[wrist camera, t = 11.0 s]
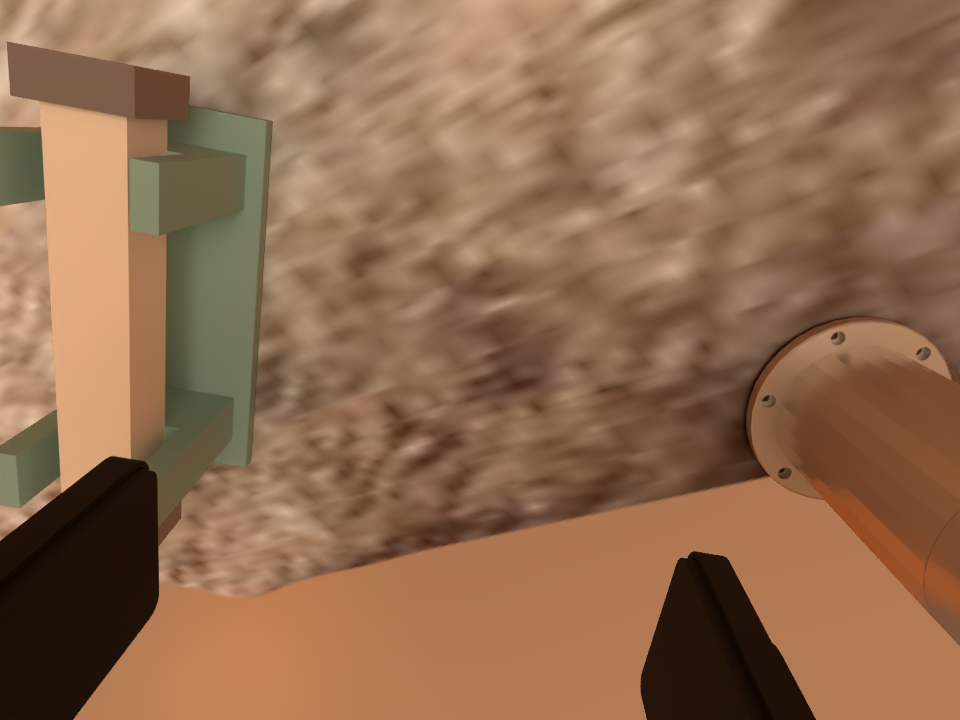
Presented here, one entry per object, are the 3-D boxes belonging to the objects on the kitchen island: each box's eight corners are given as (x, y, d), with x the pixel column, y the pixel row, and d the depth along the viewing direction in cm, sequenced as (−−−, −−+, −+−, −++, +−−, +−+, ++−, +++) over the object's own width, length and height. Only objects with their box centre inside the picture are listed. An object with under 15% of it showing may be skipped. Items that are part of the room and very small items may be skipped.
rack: (272, 121, 35) (184, 116, 25) (251, 460, 43) (176, 564, 33) (92, 87, 35) (-73, 68, 25) (102, 436, 42) (-22, 534, 32)
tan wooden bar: (189, 76, 30) (134, 66, 25) (180, 517, 38) (138, 571, 34) (82, 55, 30) (6, 41, 25) (97, 505, 38) (43, 557, 33)
